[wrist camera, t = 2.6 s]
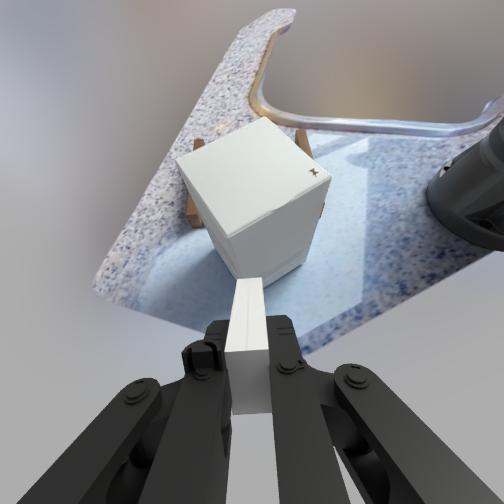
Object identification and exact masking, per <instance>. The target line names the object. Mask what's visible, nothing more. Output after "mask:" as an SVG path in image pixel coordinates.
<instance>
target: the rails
mask: <svg viewBox="0 0 504 504" xmlns="http://www.w3.org/2000/svg"><path fill="white" fill-rule="evenodd" d="M295 144H296V145H297V146H298V147H299V148H300V149H301V150H303V151H304V152H305V153H306V154H307V155H308V156H309V157H310V158H312V159H313V157H312V153H311V150H310V146H309V142H308V138H307V135H306V131H305V129H302V130H296V135H295ZM203 146H205V144H204V140H203V139H197V140H194V148H193V151H194V150H196V149H199V148H201V147H203ZM324 205H325V202H324V204H323V207H322V210H321V213H320V217H319V218H321V214H322V211H323V208H324ZM186 216H187V218H188V220H189V222H190V224H191V226H192V228H199V227H203V220H202V218H201V216H200V214H199V212H198V210H197V208H196V206H195V203H194V201H193V199H192V197H191V195H190V193H189V191H188V200H187V209H186Z"/></svg>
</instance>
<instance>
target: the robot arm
mask: <svg viewBox="0 0 504 504" xmlns="http://www.w3.org/2000/svg"><path fill="white" fill-rule="evenodd" d="M427 198H428V202H429V205H430V207H431V209H432V211H433V213H434V214H435V215H436V217H437V218H438V219H439V220H440V221H441V222H442V223H443V224H444V225H445V226H446V227H447V228H448V229H450V230H451V231H452V232H454V233H455V234H457V235H458V236H460V237H462V238H463V239H465V240H467V241H469V242H471V243H474V244H476V245H479V246H482V247H485V248H488V249H492V250H496V251H501V252H504V117H503V118H502V120H501V121H500V122H499V123H498V124H497V125H496V126H495V128H494V129H493V130H492V131H491V132H490V133H489V134H488V135H487V136H486V137H484V138H483V139H481V140H480V141H479V142H477V143H476V144H474V145H473V146H471V147H470V148H468V149H467V150H465V151H464V152H462V153H461V154H460V155H458V156H457V157H455V158H454V159H453V160H451V161H449V162H448V163H447V164H445V165H444V166H443V167H442V168H441V169H440V170H439V171H438V173H437V174H436V175H435V176H434V178H433V179H432V180H431V182H430V183H429V186H428V189H427ZM181 354H182V359H183V364H184V370H185V376H184V378H182V379H180V380H178V381H176V382H174V383H170V384H167V385H164V386H160V384H159V383H158V381H157V380H155V379H153V378H143V379H139V380H136V381H134V382H132V383H130V384H129V385H127V386H126V387H125V388H123V389H122V390H121V391H120V392H119V393H118V394H117V395H116V396H115V398H113V400H112V401H111V402H110V403H109V404H108V405H107V406H106V407H105V409H103V411H101V413H100V414H99V415H98V416H97V417H96V418H95V419H94V420H93V421H92V422H91V423H90V424H89V426H88V427H87V428H86V429H85V430H84V431H83V432H82V433H81V434H80V435H79V436H78V437H77V439H76V440H75V441H74V442H73V443H72V444H71V445H70V446H69V447H68V448H67V449H66V450H65V452H64V453H63V454H62V455H61V456H60V457H59V458H58V459H57V460H56V461H55V462H54V463H53V465H52V466H51V467H50V468H49V469H48V470H47V471H46V472H45V473H44V474H43V475H42V477H40V479H39V480H38V481H37V482H36V483H35V484H34V485H33V486H32V487H31V488H30V489H29V490H28V492H27V493H26V494H25V495H24V496H23V497H22V498H21V499H20V500H19V501H18V502H17V504H226V493H227V481H228V470H229V458H230V447H231V435H232V427H231V419H230V417H231V408H232V413H233V415H240V414H257V413H272V415H273V427H274V440H275V452H276V464H277V477H278V489H279V501H280V504H351V503H350V500H349V497H348V494H347V490H346V487H345V484H344V480H343V478H342V474H341V471H340V467H339V464H338V461H337V458H336V454H335V451H334V448H333V446H335V448H336V451H337V453H338V454H339V456H340V458H341V460H342V462H343V463H344V465H345V467H346V469H347V471H348V472H349V474H350V476H351V478H352V480H353V482H354V483H355V485H356V487H357V489H358V491H359V493H360V494H361V496H362V498H363V500H364V502H365V504H504V503H503V502H502V501H501V499H499V497H498V496H497V495H495V493H494V492H493V491H492V490H490V488H488V487H487V485H486V484H485V483H484V482H483V481H482V480H481V479H479V477H477V475H476V474H475V473H474V472H473V471H472V470H471V469H470V468H468V466H467V465H466V464H465V463H464V462H463V461H462V460H461V459H460V458H459V457H457V455H456V454H455V453H454V452H453V451H452V450H451V449H450V448H449V447H448V446H447V445H446V444H445V443H444V442H443V441H442V440H441V439H440V438H439V437H438V436H437V435H436V434H435V433H434V432H433V431H432V430H431V429H430V428H429V427H428V426H427V425H426V424H425V423H424V422H423V421H422V420H421V419H420V418H419V417H418V416H417V415H416V414H415V413H414V412H413V411H412V410H411V409H410V408H409V407H408V406H407V405H406V404H405V403H404V402H403V401H402V400H401V399H400V398H399V397H397V395H396V394H395V393H394V392H393V391H392V390H391V389H390V388H389V387H388V386H387V385H386V384H385V383H384V382H383V381H382V380H381V379H380V378H379V377H378V376H377V375H376V374H375V373H373V372H372V371H371V370H369V369H368V368H366V367H363V366H361V365H357V364H343V365H341V366H339V367H338V368H337V369H336V370H335V372H334V374H333V373H328V372H323V371H319V370H316V369H314V368H312V367H311V366H309V365H308V364H307V362H306V361H305V360H304V359H303V357H302V354H301V351H300V347H299V344H298V341H297V337H296V334H295V330H294V327H293V323H292V320H291V319H290V318H288V317H287V316H286V315H277V316H265V306H264V295H263V285H262V277H260V278H247V279H237V284H236V289H235V295H234V301H233V306H232V312H231V318H230V320H217V321H213V322H212V323H211V324H210V325H209V326H208V327H207V330H206V333H205V337H204V339H203V340H198V341H196V342H193V343H191V344H190V345H188V346H187V347H185V349H184V350H183V352H182V353H181Z"/></svg>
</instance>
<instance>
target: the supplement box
mask: <svg viewBox="0 0 504 504" xmlns="http://www.w3.org/2000/svg"><path fill="white" fill-rule="evenodd" d="M175 162H176V164H177V167H178V169H179V171H180V174H181V176H182V178H183V180H184V182H185V184H186V187H187V189H188V191H189V193H190V195H191V197H192V199H193V201H194V203H195V206H196V208H197V210H198V212H199V214H200V216H201V218H202V220H203V223H204V225H205V227H206V229H207V231H208V233H209V235H210V238H211V240H212V242H213V244H214V246H215V248H216V250H217V252H218V253H219V255H220V256H221V258H222V259H223V261H224V262H225V264H226V265H227V267H228V268H229V270H230V272H231V273H232V275H233V276H234V278H235V279H236V281H237V279H247V278H260V277H262V285H263V288H265V287H266V286H268V285H269V284H271V283H273V282H274V281H276V280H277V279H279V278H280V277H282V276H283V275H285V274H287V273H288V272H290V271H291V270H293V269H294V268H296V267H297V266H299V265H300V264H302V263H303V262H305V261H306V258H307V255H308V252H309V249H310V245H311V242H312V239H313V236H314V233H315V229H316V226H317V223H318V220H319V217H320V213H321V210H322V207H323V204H324V201H325V197H326V194H327V191H328V188H329V185H330V182H331V179H332V176H331V175H330V174H329V173H328V172H327V171H325V170H324V169H323V168H322V167H321V166H320V165H318V164H317V163H316V162H315V161H314V160H313V159H312V158H310V157H309V156H308V155H307V154H306V153H305V152H304V151H303V150H301V149H300V148H299V147H298V146H297V145H296V144H295V143H294V142H293V141H292V140H291V139H290V138H289V137H287V136H286V135H285V134H284V133H283V132H282V131H281V130H280V129H279V128H278V127H277V126H276V125H275V124H274V123H272V122H271V121H270V120H269V119H268V118H266V117H265V116H264V117H262V118H260V119H258V120H256V121H254V122H252V123H250V124H248V125H246V126H244V127H242V128H240V129H238V130H236V131H234V132H232V133H230V134H228V135H226V136H223V137H221V138H219V139H217V140H215V141H213V142H211V143H209V144H207V145H205V146H203V147H201V148H199V149H196V150H194V151H192V152H190V153H188V154H186V155H184V156H182V157H179V158H177V159H175Z"/></svg>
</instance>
